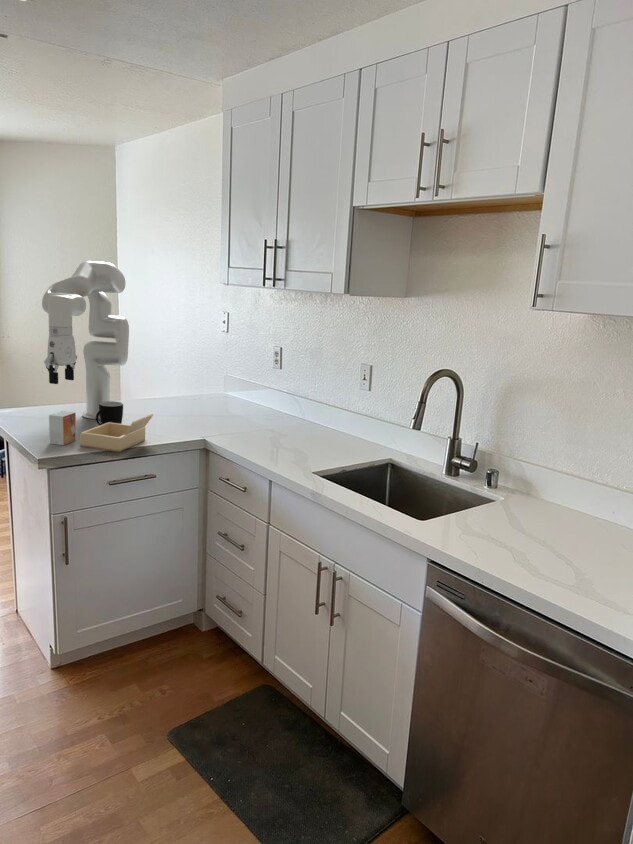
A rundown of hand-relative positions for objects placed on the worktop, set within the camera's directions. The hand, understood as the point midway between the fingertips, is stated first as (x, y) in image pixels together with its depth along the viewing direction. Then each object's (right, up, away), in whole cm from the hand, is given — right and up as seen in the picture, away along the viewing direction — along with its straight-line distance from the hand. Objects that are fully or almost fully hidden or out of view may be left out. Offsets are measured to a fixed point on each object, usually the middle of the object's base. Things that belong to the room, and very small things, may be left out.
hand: (61, 381), depth 217 cm
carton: (+16, -22, +8) cm, 28 cm away
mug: (+8, -17, +26) cm, 32 cm away
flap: (+26, -15, +4) cm, 30 cm away
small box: (-2, -22, +5) cm, 22 cm away
